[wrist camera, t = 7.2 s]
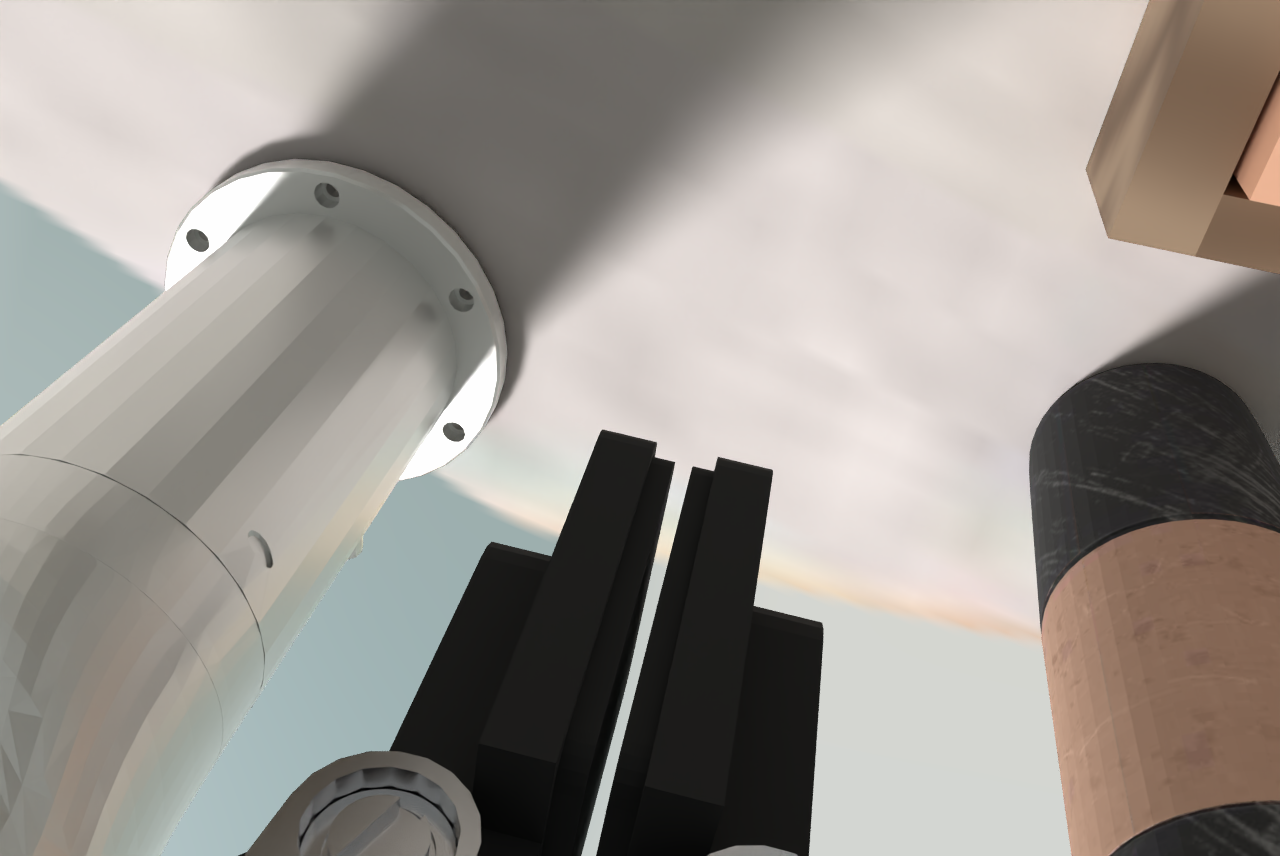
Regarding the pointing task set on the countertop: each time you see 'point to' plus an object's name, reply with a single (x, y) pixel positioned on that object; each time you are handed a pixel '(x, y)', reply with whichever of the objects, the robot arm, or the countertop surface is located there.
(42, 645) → the robot arm
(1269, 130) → the peach square block
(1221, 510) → the travel mug
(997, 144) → the countertop surface
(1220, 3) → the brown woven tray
